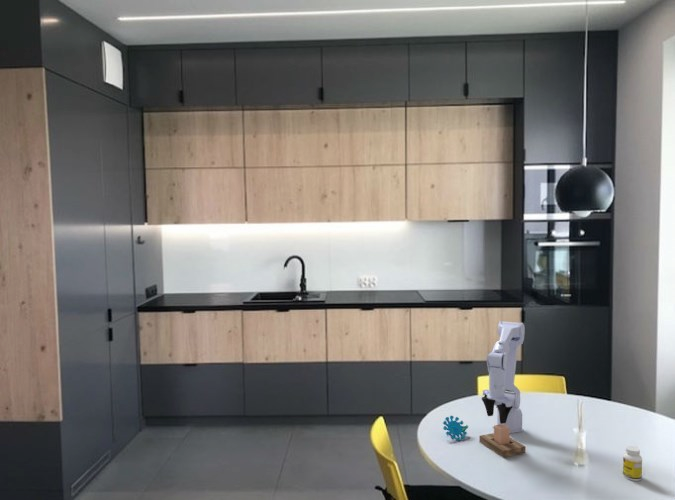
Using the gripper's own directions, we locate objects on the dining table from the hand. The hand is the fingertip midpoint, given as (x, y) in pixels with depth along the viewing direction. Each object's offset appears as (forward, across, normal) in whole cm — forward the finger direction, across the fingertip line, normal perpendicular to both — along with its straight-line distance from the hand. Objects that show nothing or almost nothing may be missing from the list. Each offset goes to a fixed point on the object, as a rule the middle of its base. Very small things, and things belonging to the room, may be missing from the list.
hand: (496, 419), depth 192 cm
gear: (+10, -12, -10) cm, 19 cm away
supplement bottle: (+10, +37, +25) cm, 46 cm away
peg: (+10, +3, 0) cm, 10 cm away
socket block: (+10, +3, 0) cm, 10 cm away
